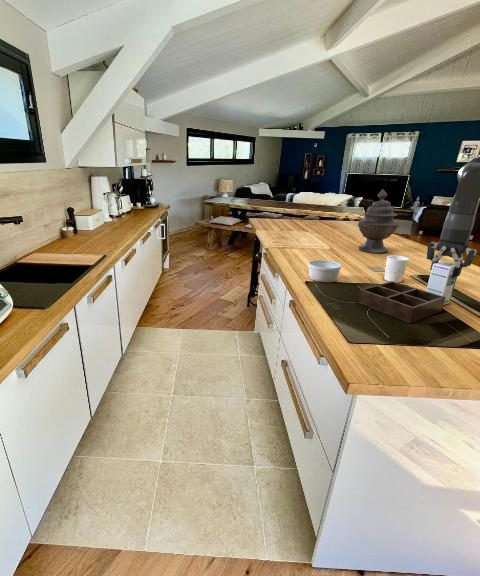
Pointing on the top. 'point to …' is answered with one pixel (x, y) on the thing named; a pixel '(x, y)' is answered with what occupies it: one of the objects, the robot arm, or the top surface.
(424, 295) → the rack
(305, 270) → the top surface
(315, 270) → the ramekin
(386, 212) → the decorative urn
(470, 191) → the robot arm
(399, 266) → the white cup
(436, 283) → the syrup box
